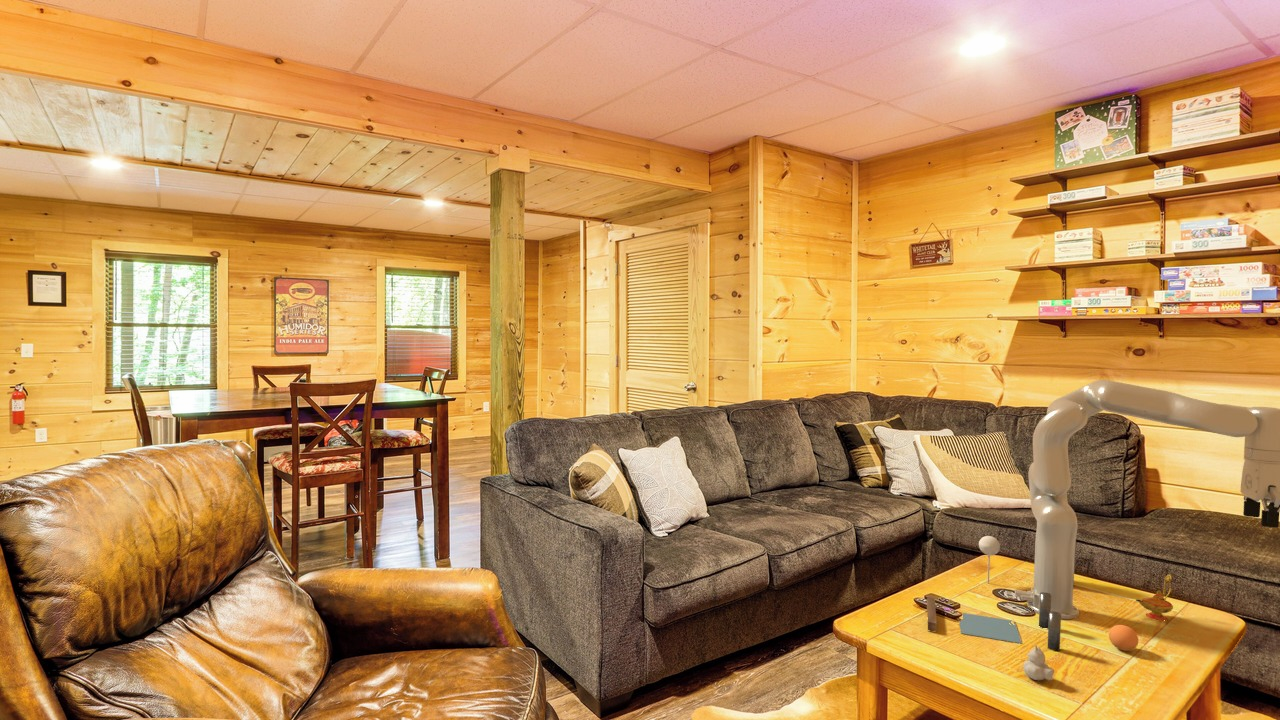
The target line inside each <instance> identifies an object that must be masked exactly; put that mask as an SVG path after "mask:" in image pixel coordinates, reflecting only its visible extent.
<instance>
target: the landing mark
mask: <svg viewBox="0 0 1280 720" xmlns="http://www.w3.org/2000/svg"><path fill="white" fill-rule="evenodd" d="M962 613H963V619H962V620H961V621H959V620H958V622H959V623H960V624H959V630H961V631H960V634H961V633H962V634H961V635H967V636H972V637H978V638H979V637H980V638H983V639H990V640H997V641H1001V640H1003V641H1002V642H1007V641H1008V643H1013V642H1015V644H1019V643H1020V645H1022V644H1023V642H1022V640H1021V636H1020V633H1019V630H1018V627H1017V624H1016V622H1015V623H1014V624H1015V625H1016V626H1015V625H1013V624H1012V623H1011V621H1013V620H1011V619H1005V618H1001V617H1000V618H999V617H992V616H986V615H981V614H980V615H979V614H974V613H973V614H972V613H968V612H962ZM1009 623H1010V624H1011V625H1010V624H1009Z"/></svg>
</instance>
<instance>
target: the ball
mask: <svg viewBox="0 0 1280 720" xmlns="http://www.w3.org/2000/svg"><path fill="white" fill-rule="evenodd" d="M1108 639H1109V641H1110V643H1111V644H1112V645H1113V646H1114V647H1115V648H1117V649H1118V650H1121V651H1123V652H1124V651H1126V652H1127V651H1128V652H1129V651H1132V650H1135V649H1136V648H1137V647H1138V645H1139V637H1138V635H1137V633H1136V631H1134V629H1132V628H1131V627H1129V626H1127V625H1123V624H1115V625H1114V626H1112V627H1111V628H1110V629H1109V632H1108Z"/></svg>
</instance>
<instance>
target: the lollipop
mask: <svg viewBox="0 0 1280 720" xmlns="http://www.w3.org/2000/svg"><path fill="white" fill-rule="evenodd" d="M978 547H979V550H980V551H981V552H982V553H983V554H985V555H986V556H987V577H986V578H987V579H986V581H987V584H990V561H991V560H990V559H991V558H990V557H991V556H994V555H996V554H998V553H999V552H1000V548H1001V545H1000V542H999V540H998V539H997V538H995V537H994V536H991V535H985V536H983V537H981V538H980V540H979V541H978Z"/></svg>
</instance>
